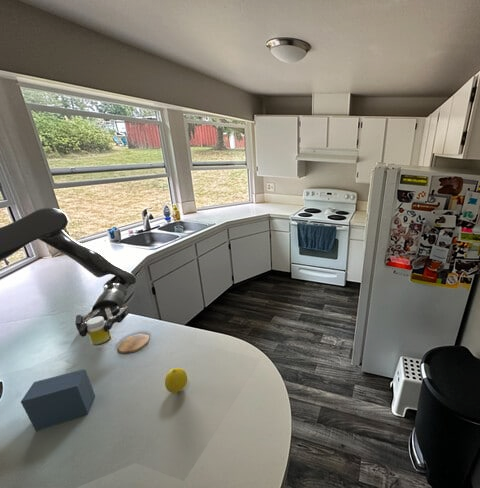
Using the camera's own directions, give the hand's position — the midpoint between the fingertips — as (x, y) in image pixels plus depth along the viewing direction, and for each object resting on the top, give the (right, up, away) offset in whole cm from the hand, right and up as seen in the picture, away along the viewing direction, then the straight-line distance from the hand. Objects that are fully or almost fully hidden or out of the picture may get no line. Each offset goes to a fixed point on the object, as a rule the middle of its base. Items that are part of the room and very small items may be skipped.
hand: (94, 331), depth 76 cm
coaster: (+1, -10, +15) cm, 18 cm away
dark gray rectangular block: (+2, -18, -9) cm, 21 cm away
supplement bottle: (-1, -5, +4) cm, 7 cm away
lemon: (+27, -17, -2) cm, 32 cm away
